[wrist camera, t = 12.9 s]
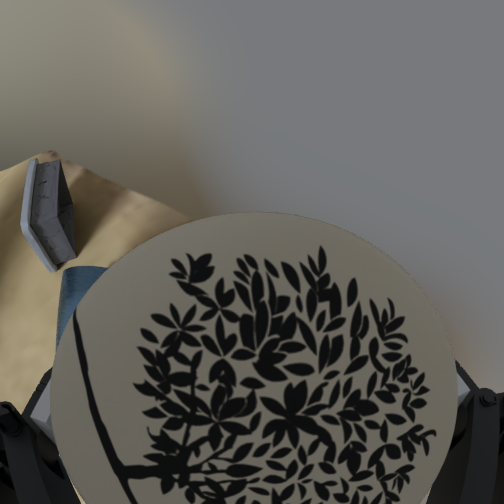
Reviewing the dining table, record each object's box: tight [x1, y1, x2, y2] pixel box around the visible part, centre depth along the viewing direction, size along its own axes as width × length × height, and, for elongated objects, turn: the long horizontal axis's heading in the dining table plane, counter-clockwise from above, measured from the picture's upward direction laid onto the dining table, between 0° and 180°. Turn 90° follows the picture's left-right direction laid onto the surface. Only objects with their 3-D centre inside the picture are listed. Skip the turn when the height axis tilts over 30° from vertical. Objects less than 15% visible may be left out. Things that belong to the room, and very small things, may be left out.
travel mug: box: [50, 212, 458, 504], centre depth 11 cm, size 8×8×18 cm
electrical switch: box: [20, 158, 77, 272], centre depth 22 cm, size 9×5×9 cm, turn 23°
